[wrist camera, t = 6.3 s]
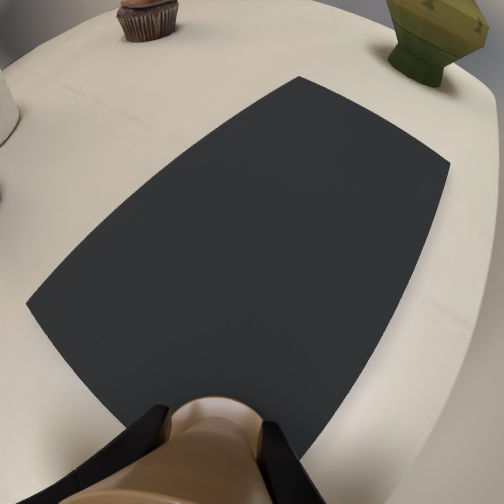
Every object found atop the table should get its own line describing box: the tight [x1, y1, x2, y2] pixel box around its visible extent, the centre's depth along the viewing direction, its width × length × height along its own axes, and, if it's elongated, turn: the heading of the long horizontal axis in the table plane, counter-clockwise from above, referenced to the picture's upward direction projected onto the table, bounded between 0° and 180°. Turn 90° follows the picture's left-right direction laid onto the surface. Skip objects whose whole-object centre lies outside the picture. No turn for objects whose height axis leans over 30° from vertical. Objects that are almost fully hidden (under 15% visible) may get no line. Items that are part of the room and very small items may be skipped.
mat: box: [26, 76, 451, 460], centre depth 19 cm, size 18×32×1 cm, turn 143°
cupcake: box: [116, 0, 179, 42], centre depth 31 cm, size 10×10×10 cm
